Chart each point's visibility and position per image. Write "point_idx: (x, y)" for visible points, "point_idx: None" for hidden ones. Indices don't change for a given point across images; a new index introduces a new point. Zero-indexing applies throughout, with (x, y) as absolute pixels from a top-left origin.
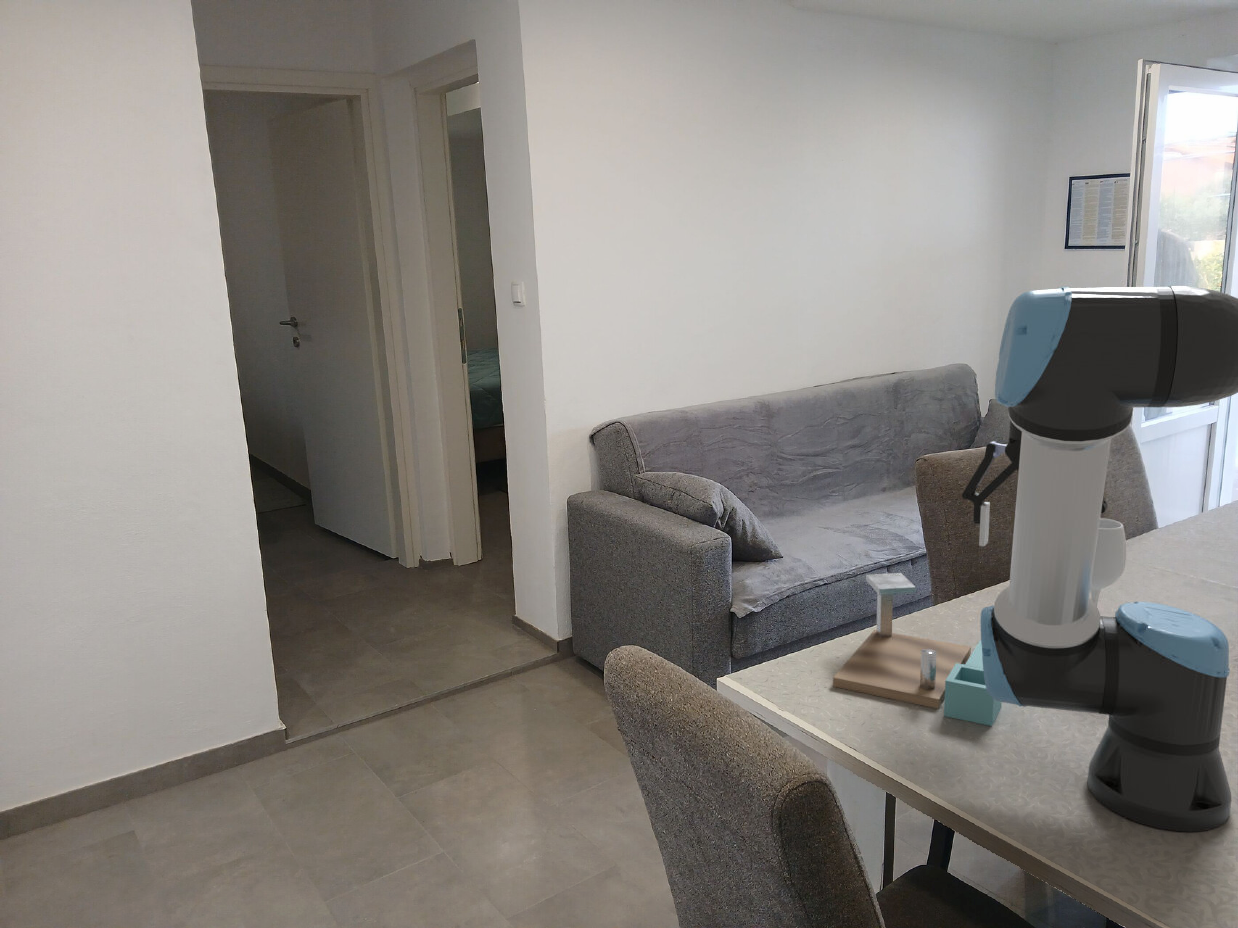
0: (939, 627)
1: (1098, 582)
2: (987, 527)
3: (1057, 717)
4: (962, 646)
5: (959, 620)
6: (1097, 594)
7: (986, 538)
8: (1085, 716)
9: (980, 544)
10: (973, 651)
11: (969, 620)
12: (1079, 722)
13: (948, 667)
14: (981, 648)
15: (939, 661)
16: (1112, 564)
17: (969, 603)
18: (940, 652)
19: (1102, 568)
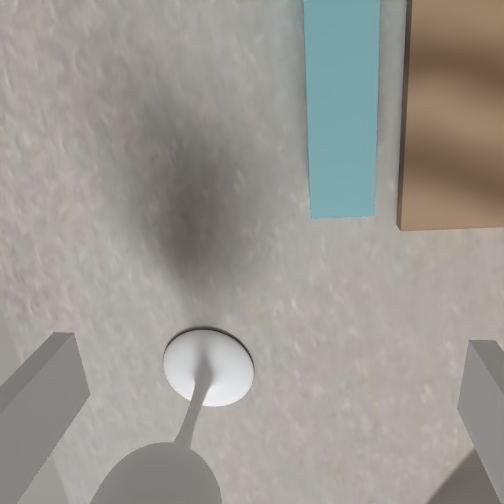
0: (483, 330)
1: (153, 444)
2: (495, 455)
3: (172, 10)
4: (418, 223)
5: (448, 377)
6: (176, 439)
7: (473, 399)
8: (131, 49)
9: (491, 344)
10: (377, 71)
11: (428, 384)
12: (132, 13)
13: (429, 89)
14: (361, 103)
15: (456, 113)
16: (103, 487)
17: (442, 455)
18: (461, 167)
19: (127, 471)
